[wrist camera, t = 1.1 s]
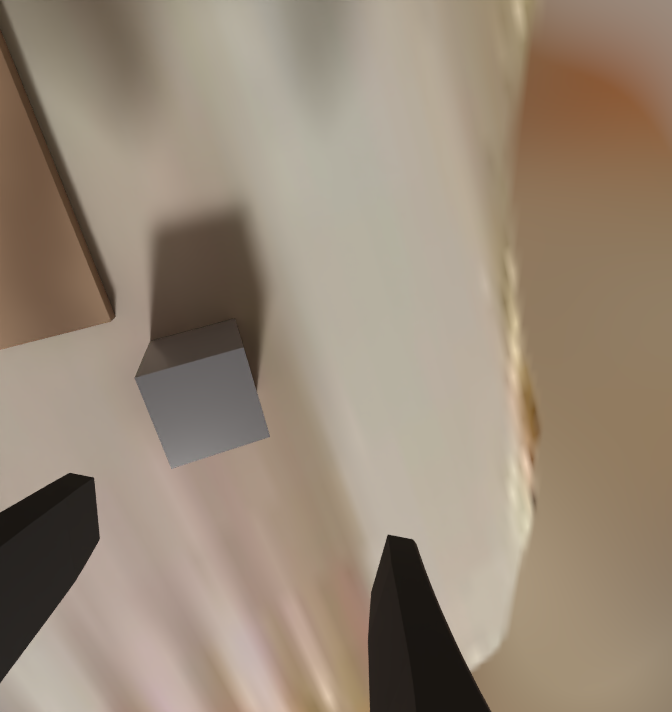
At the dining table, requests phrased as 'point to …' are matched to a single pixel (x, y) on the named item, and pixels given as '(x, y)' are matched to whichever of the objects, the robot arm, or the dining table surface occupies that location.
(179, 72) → the dining table surface
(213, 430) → the grey matte cube
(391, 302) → the dining table surface
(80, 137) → the dining table surface
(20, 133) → the dock
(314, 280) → the dining table surface
